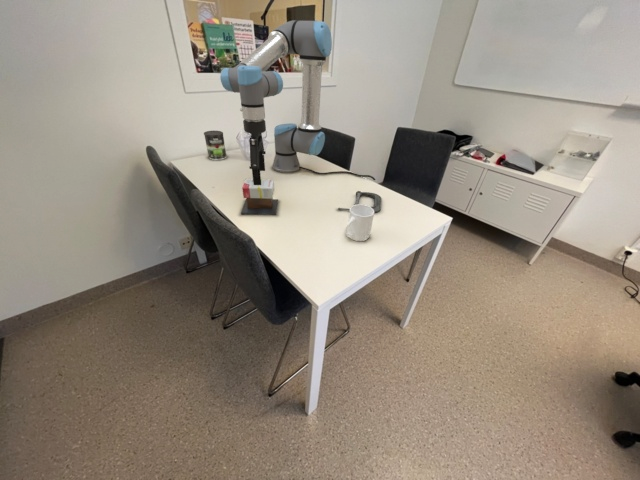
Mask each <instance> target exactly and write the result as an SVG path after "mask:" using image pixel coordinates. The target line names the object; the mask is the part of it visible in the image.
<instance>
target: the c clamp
mask: <svg viewBox="0 0 640 480" xmlns="http://www.w3.org/2000/svg"><path fill="white" fill-rule="evenodd" d="M355 196H356V198H355V202H354V204H353V205H358V204H359V202H360V197H363V196H364V197H369V198H372V199H374V201H373V206H370V207H371V208H372V209H373V210H374V214H375V213H379V212H380V211H381V209H382V197H381V196H380V195H379V194H377V193H374V192H370V191H369V192H367V191H360V190H357V191H356V192H355ZM337 209H338V210H341V211H350V208H344V207H338V208H337Z"/></svg>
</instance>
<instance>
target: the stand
mask: <svg viewBox="0 0 640 480" xmlns="http://www.w3.org/2000/svg"><path fill="white" fill-rule="evenodd" d="M278 206H279V199H278V198H277V199H275V198H274V197H273V198H272V199H265V198H245V200H244V203H243V206H242V209H241V212H240V215H241V216H277V213H278Z"/></svg>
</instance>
